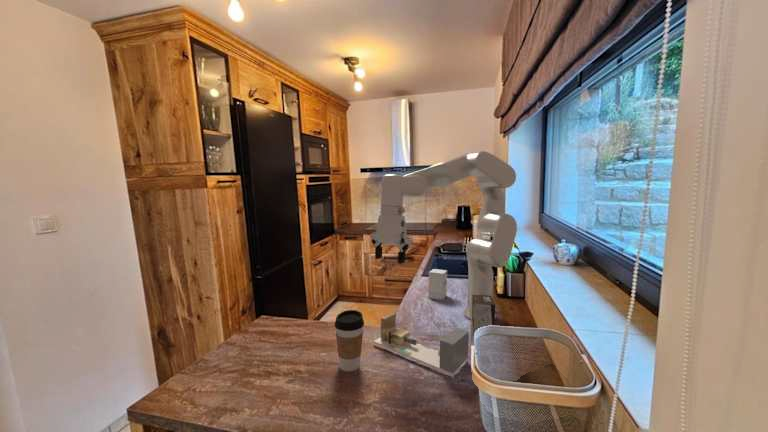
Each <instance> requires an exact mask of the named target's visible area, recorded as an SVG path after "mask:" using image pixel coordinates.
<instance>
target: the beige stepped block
mask: <svg viewBox="0 0 768 432" xmlns="http://www.w3.org/2000/svg"><path fill="white" fill-rule="evenodd" d="M396 314H397V313H395V312H389V313H388V314H386V315H384V316H382V317H380V337H381V340H383V341H386V340H387V341H389V344H391V342H392V343H394V344H397V345H399V346H402V345H403V344H405V343H406V342H408V343H410V344H413V345H416V344H417V340H415V339H416V338H415V339H412V338H413V337H412V338H410V337H411V336H410V331H408V330H405V329H403V328H399V327H397V324H396V323H397V320H396V319H397V318H396V317H397V315H396ZM409 336H410V337H409Z"/></svg>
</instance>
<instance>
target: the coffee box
mask: <svg viewBox="0 0 768 432" xmlns="http://www.w3.org/2000/svg"><path fill="white" fill-rule="evenodd" d="M495 314H496V303H495V301H494V299H493V298H492V297H491V295H472V308H471V319H470V324H471V325H470V342H471V341H472V343H473V336H474V332H475V331H476V330H477V329H478V328H480V327H483V326H488V325H495V322H496V319H495ZM495 326H496V325H495Z"/></svg>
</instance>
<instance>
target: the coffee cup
mask: <svg viewBox="0 0 768 432" xmlns="http://www.w3.org/2000/svg"><path fill="white" fill-rule="evenodd" d="M364 326H365V320H364V318H363V313H362V311H359V310H356V309H351V310H350V309H348V310H344V311H342V312H340V313H338V314H337V315H336V318H335V322H334V328H336V329H335V330H336V331H335V338H336V346H337V356H338V367H339V369H340V370H341V371H343V372H354V371H356V370H358V369H359V368H360V366H361V355H362V354H361V353H362V346H363V345H362V344H363V335H364V331H363V328H364Z"/></svg>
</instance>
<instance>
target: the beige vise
mask: <svg viewBox="0 0 768 432" xmlns="http://www.w3.org/2000/svg"><path fill="white" fill-rule="evenodd" d="M469 333H470V331H469V330H465V329H462V328H459V327H455V328H453V329H452V330H450V332H448V333H447V334H446V335H444V336H443V337H442V338H441V339H440V340H439V347H440V348H439V350H434V349H431V348H430V349H428V348H426V347H424V346H422V345H421V344H416V345H413V344H410V343H408V342H406V343H405V344H403V345H402V346H399V345H397V344H394V343H392V342H391V344H389V341H387V340H386V341H383V340H381V336H380V337H378V338H377V339H374V340H373V344H374V343H375V344H377V345H380V346H382V347H385V348H387V349H390V350H392V351H394V352H397V353H399V354H402V355H404V356H406V357H409V358H411V359H414V360H416V361H418V362H420V363H423V364H425V365H428V366H430V367H432V368H435V369H437V370H439V371H441V372H443V373H446V374H448V375H450V376H454V374H455V373H456V372H457V371H458V370H459V368H460V367H461V365H462V364H463V363H464V362H465V361H466V359H467V358H468V359H469Z"/></svg>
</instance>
